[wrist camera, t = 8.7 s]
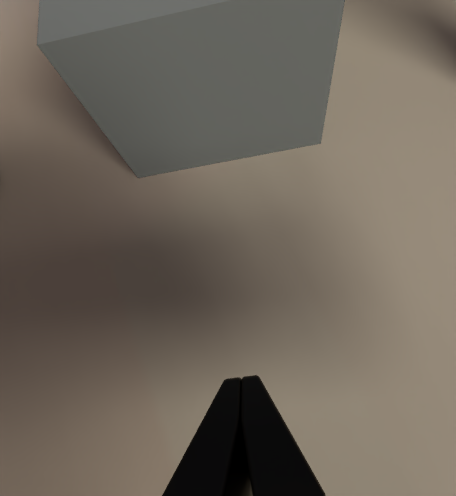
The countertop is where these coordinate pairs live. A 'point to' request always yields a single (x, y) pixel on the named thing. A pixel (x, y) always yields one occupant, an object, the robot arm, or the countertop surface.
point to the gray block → (196, 74)
